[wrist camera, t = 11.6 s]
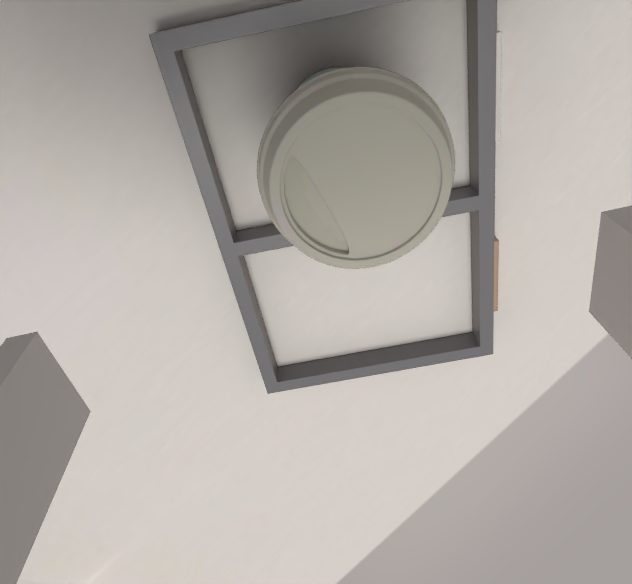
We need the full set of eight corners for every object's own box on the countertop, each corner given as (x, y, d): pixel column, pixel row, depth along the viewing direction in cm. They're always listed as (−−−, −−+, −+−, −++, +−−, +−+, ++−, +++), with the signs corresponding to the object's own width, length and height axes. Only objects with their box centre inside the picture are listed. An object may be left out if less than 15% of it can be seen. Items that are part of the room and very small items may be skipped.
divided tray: (156, 31, 27) (148, 34, 25) (496, -44, 26) (509, -46, 24) (268, 378, 41) (267, 393, 39) (492, 338, 40) (500, 352, 38)
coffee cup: (265, 35, 27) (253, 67, 17) (416, 45, 28) (490, 81, 18) (264, 183, 32) (255, 277, 22) (394, 188, 33) (443, 282, 22)
